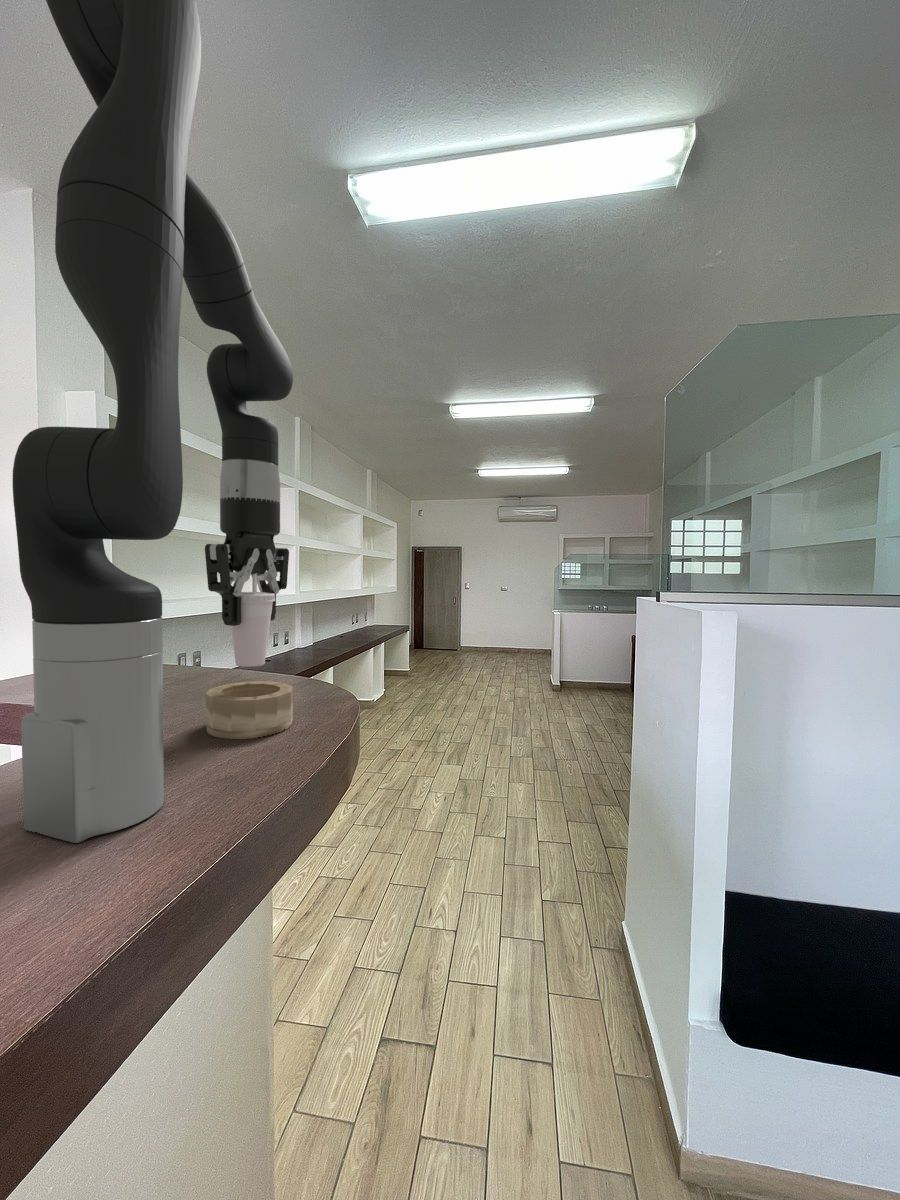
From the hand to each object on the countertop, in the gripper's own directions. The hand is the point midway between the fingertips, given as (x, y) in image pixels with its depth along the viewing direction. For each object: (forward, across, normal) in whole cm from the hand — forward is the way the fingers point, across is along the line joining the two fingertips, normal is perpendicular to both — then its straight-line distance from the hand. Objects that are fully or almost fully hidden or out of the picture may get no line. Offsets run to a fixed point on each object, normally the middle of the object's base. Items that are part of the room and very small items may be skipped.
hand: (250, 622), depth 69 cm
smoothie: (+6, 0, 0) cm, 6 cm away
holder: (+14, 0, 0) cm, 14 cm away
